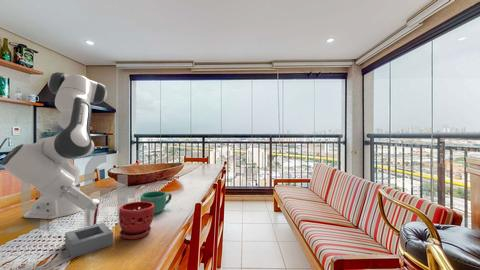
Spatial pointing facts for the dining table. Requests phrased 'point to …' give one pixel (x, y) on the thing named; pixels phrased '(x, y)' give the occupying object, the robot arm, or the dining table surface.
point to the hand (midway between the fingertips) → (92, 206)
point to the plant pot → (136, 219)
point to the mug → (156, 199)
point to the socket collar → (88, 239)
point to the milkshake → (91, 214)
